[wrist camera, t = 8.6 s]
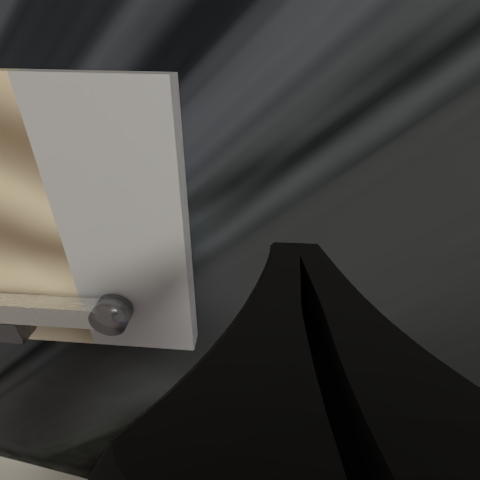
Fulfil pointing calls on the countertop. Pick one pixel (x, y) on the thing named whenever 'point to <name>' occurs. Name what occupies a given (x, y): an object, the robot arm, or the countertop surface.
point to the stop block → (15, 333)
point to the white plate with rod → (117, 192)
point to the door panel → (29, 223)
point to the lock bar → (67, 312)
